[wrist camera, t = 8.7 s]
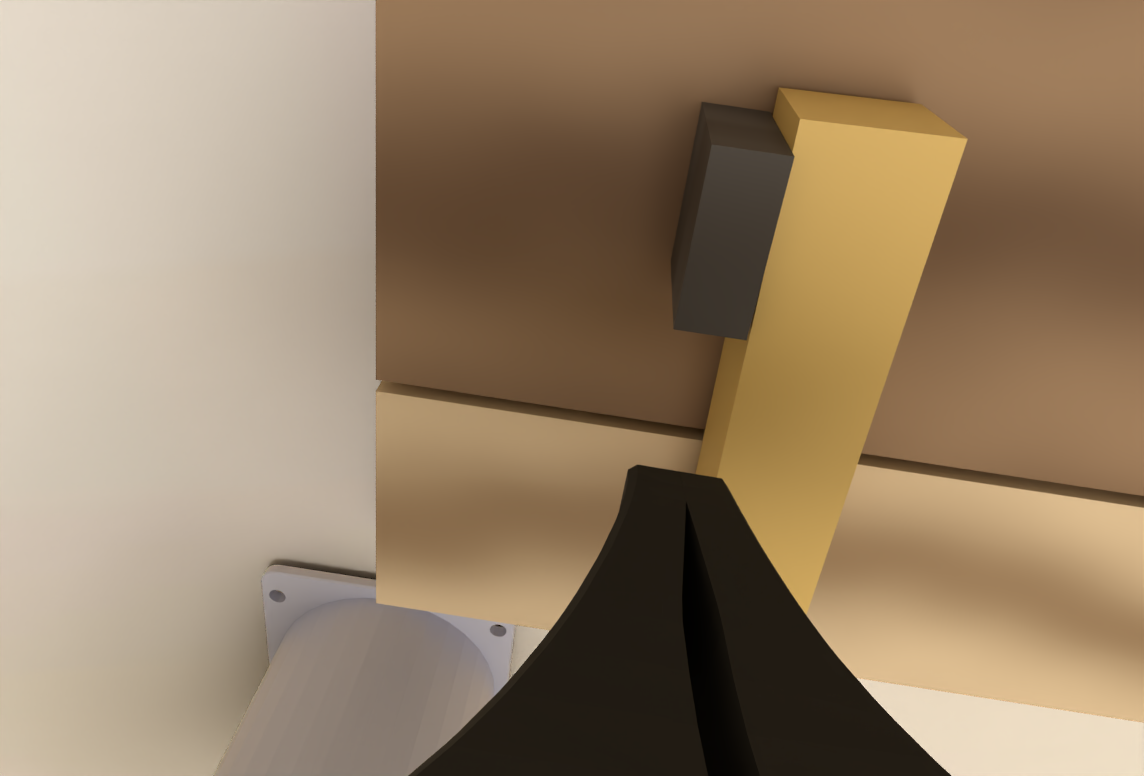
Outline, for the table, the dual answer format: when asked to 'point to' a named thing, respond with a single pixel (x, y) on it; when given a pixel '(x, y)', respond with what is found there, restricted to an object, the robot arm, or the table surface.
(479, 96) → the wooden board with knob
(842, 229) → the bar
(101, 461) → the table surface
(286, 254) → the table surface
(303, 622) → the robot arm
